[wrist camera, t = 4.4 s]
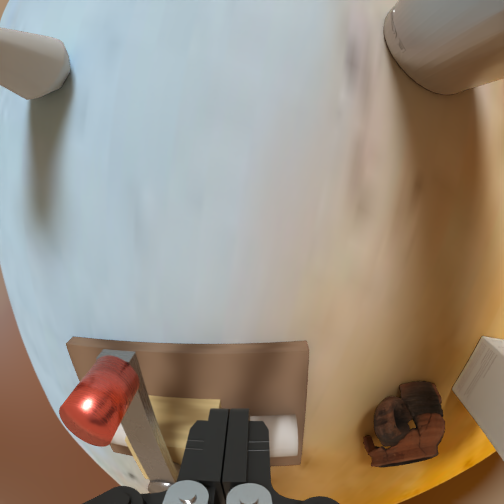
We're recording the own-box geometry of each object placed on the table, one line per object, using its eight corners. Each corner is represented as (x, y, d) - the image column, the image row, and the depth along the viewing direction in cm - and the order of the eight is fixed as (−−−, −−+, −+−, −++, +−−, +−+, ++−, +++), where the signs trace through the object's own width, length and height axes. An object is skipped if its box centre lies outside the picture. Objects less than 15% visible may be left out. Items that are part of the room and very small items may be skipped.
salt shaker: (90, 54, 18) (-10, -1, 6) (56, 111, 19) (-58, 90, 7) (54, 40, 18) (-37, -3, 5) (24, 92, 19) (-76, 72, 6)
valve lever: (192, 491, 18) (183, 541, 13) (157, 486, 18) (143, 533, 13) (144, 345, 14) (103, 411, 9) (96, 341, 14) (47, 398, 9)
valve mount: (306, 340, 24) (325, 412, 15) (299, 454, 28) (306, 516, 19) (73, 336, 25) (24, 385, 16) (117, 443, 28) (94, 494, 20)
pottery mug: (450, 387, 26) (457, 452, 20) (384, 410, 32) (384, 469, 26) (412, 361, 21) (420, 453, 16) (328, 391, 27) (324, 468, 21)
